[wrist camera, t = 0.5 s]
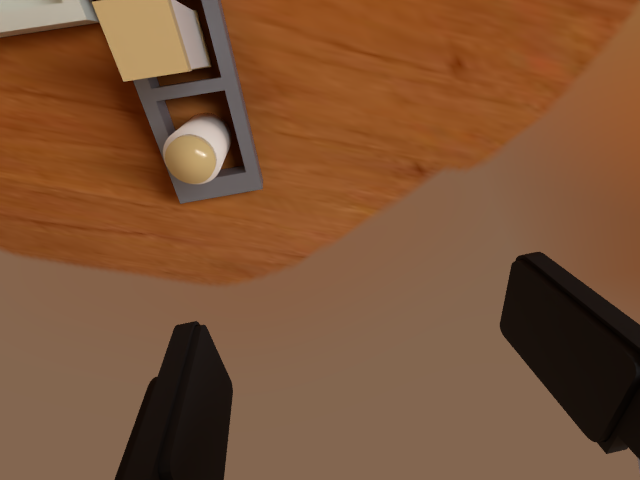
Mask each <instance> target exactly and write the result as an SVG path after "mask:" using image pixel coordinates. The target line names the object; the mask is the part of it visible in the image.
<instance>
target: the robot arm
mask: <svg viewBox="0 0 640 480" xmlns="http://www.w3.org/2000/svg"><path fill="white" fill-rule="evenodd" d="M500 329H501V332H502V334H503V335H504V337H505V338H506V339H507V341H508V342H509V343H510V344H511V345H512V347H514V349H515V350H516V351H517V353H518V354H519V355H520V356H521V358H522V359H523V360H524V361H525V362H526V364H527V365H528V366H529V367H530V369H531V370H532V371H533V372H534V373H535V375H536V376H537V377H538V378H539V379H540V381H541V382H542V383H543V384H544V386H545V387H546V388H547V389H548V390H549V392H550V393H551V394H552V395H553V397H554V398H555V399H556V400H557V401H558V403H559V404H560V405H561V406H562V407H563V409H564V410H565V411H566V412H567V414H568V415H569V416H570V417H571V418H572V420H573V421H574V422H575V423H576V424H577V426H578V427H579V428H580V429H581V431H582V432H583V433H584V434H585V435H586V436H587V437H588V438H589V439H590V440H591V441H593V442H597V443H598V444H599V446H600V447H601V448H602V449H603V450H604V452H605V453H606V454H608V453H613V452H616V451H621V450H625V449H627V448H628V447H629V448H630V450H631V451H632V452H633V453H634V454H635V455H636V456H637V458H638V465H639V472H640V325H639V324H638V323H637V322H635V321H634V320H632V319H631V318H630V317H628V316H627V315H625V314H624V313H623V312H621V311H620V310H619V309H618V308H616V307H615V306H614V305H612V304H611V303H609V302H608V301H607V300H605V299H604V298H603V297H601V296H600V295H599V294H597V293H596V292H595V291H593V290H592V289H591V288H589V287H588V286H586V285H585V284H584V283H583V282H581V281H580V280H578V279H577V278H576V277H574V276H573V275H572V274H570V273H569V272H568V271H566V270H565V269H564V268H562V267H561V266H559V265H558V264H557V263H556V262H554V261H552V259H550V258H549V257H547V256H546V255H545V254H543V253H541V252H535V253H530V254H525V255H521V256H518V257H517V258H516V261H515V262H513V263H512V266H511V271H510V275H509V280H508V285H507V291H506V296H505V301H504V306H503V311H502V316H501V321H500ZM232 395H233V388H232V382H231V380H230V378H229V375H228V373H227V371H226V369H225V367H224V364H223V362H222V360H221V358H220V356H219V353H218V351H217V349H216V347H215V345H214V342H213V340H212V338H211V336H210V334H209V331H208V329H207V327H206V326H205V325H200V324H199V323H198V322H197V321H195V322H190V323H185V324H180V325H176V326H175V328H174V330H173V334H172V336H171V339H170V342H169V345H168V348H167V351H166V354H165V357H164V360H163V363H162V366H161V368H160V371H159V374H158V377H155V378H153V379H152V381H151V382H150V384H149V385H148V388H147V391H146V393H145V396H144V399H143V402H142V405H141V407H140V410H139V413H138V416H137V418H136V421H135V424H134V427H133V430H132V433H131V435H130V438H129V441H128V443H127V447H126V449H125V452H124V455H123V457H122V460H121V463H120V466H119V469H118V471H117V474H116V477H115V480H224V472H225V462H226V452H227V442H228V434H229V424H230V415H231V405H232Z"/></svg>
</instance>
